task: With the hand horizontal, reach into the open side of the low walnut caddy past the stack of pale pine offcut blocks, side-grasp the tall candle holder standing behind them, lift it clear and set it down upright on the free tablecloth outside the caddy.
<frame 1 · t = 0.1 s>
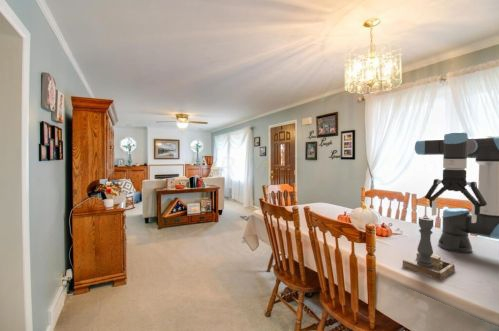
hand: (452, 218, 101), 28 cm above the table, tool pointing down, fingers open, 13 cm apart
candle holder: (424, 270, 115), on the table
offcut lower: (430, 266, 118), on the table, touching offcut upper
offcut upper: (430, 260, 118), point 3 cm above the table, touching offcut lower
walnut caddy: (427, 268, 116), on the table
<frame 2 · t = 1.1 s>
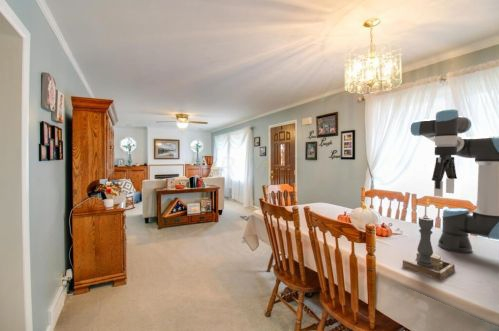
hand: (444, 194, 104), 38 cm above the table, tool pointing down, fingers open, 13 cm apart
nothing on the table moved.
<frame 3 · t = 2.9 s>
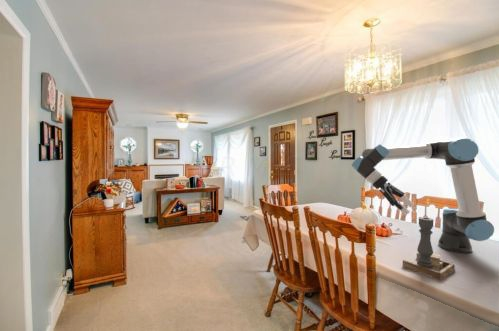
hand: (410, 209, 123), 27 cm above the table, tool tilted 45°, fingers open, 13 cm apart
offcut lower: (430, 266, 118), on the table
offcut upper: (430, 260, 118), point 3 cm above the table
everything else where it was.
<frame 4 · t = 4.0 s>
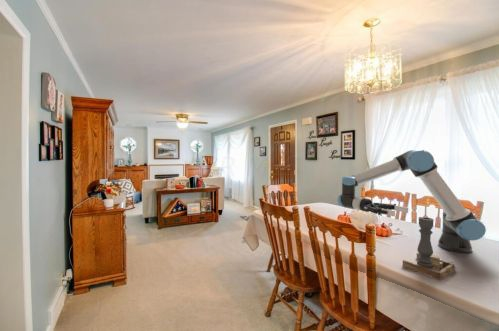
hand: (401, 211, 122), 26 cm above the table, tool horizontal, fingers open, 13 cm apart
offcut lower: (430, 266, 118), on the table, touching offcut upper
offcut upper: (430, 261, 118), point 3 cm above the table, touching offcut lower
everything else where it was.
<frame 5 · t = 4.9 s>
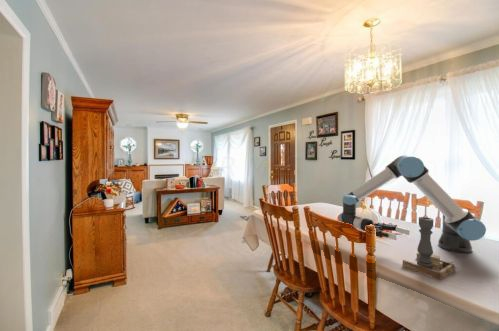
hand: (402, 234, 122), 14 cm above the table, tool horizontal, fingers open, 13 cm apart
nothing on the table moved.
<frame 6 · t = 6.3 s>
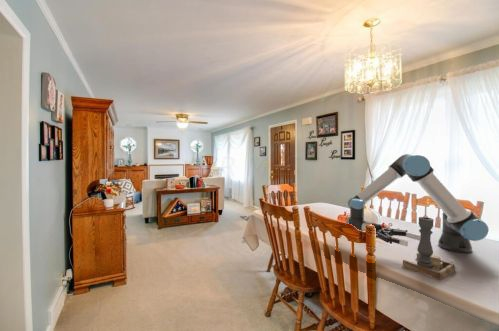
hand: (414, 240, 118), 13 cm above the table, tool horizontal, fingers open, 13 cm apart
nothing on the table moved.
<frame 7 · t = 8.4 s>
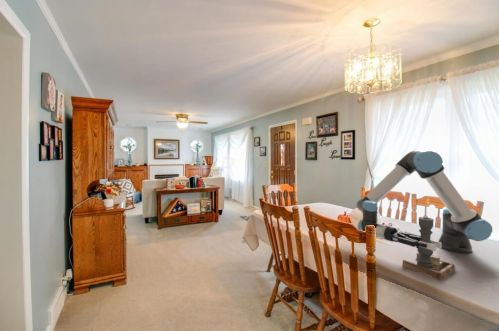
hand: (438, 246, 110), 13 cm above the table, tool horizontal, fingers closed on candle holder, 5 cm apart
candle holder: (424, 270, 115), on the table, touching gripper
offcut lower: (430, 266, 119), on the table
offcut upper: (430, 260, 118), point 3 cm above the table
when the fingers open (14 cm above the table, at t = 14.7 s): candle holder stays where it is, on the table.
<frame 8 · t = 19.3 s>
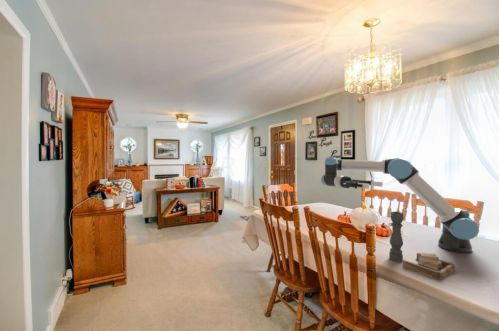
hand: (375, 185, 135), 38 cm above the table, tool horizontal, fingers open, 13 cm apart
candle holder: (395, 260, 126), on the table
at the end: candle holder inside the target area (0.1 cm from its centre), on the table; candle holder tilted 0°; the gripper is holding nothing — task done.
